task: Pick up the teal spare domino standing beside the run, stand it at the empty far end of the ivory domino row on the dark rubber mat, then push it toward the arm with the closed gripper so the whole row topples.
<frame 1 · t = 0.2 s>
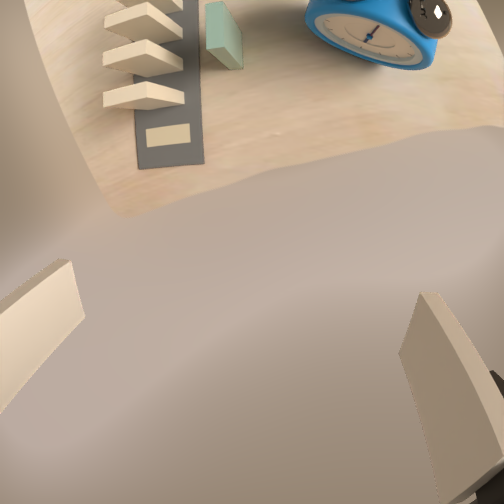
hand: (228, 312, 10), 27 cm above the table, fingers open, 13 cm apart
alarm clock: (360, 37, 27), on the table
domino 2: (164, 37, 29), resting on mat
domino 3: (164, 68, 31), resting on mat
domino 1: (164, 9, 27), resting on mat
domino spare: (235, 51, 29), on the table
mat: (165, 68, 31), on the table
domino 4: (165, 101, 32), resting on mat
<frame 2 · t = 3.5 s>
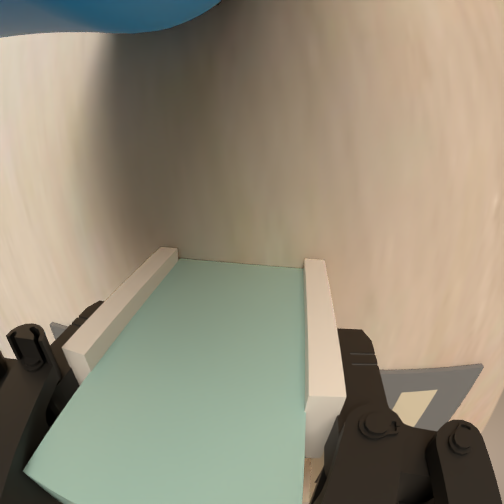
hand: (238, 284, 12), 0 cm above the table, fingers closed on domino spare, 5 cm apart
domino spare: (239, 281, 12), on the table, touching gripper
mat: (255, 416, 16), on the table
domino 4: (332, 424, 15), resting on mat
when the fingers open (1 cm above the table, at t = 8.8 s): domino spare stays where it is, resting on mat.
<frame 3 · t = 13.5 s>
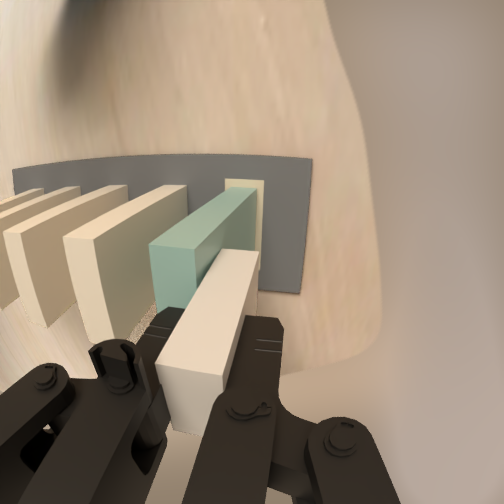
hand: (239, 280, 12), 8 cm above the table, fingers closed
domino 2: (76, 217, 21), resting on mat
domino 3: (121, 218, 20), resting on mat
domino 1: (42, 216, 21), resting on mat
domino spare: (243, 226, 19), resting on mat, touching gripper
mat: (123, 217, 20), on the table
domino 4: (176, 221, 20), resting on mat
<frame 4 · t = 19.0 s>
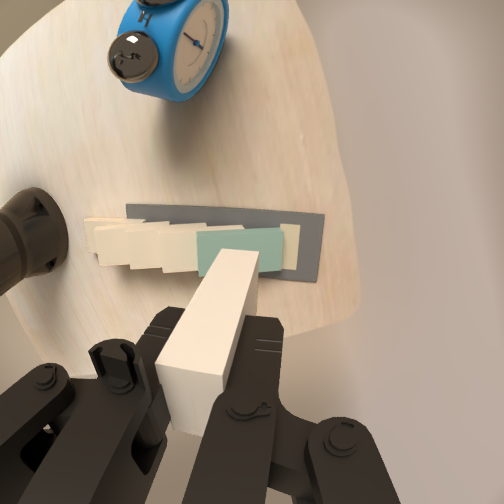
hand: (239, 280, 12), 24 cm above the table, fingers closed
alarm clock: (196, 53, 30), on the table
domino 2: (170, 241, 38), point 1 cm above the table, tilted 69°, touching domino 1, domino 3
domino 3: (206, 243, 38), point 1 cm above the table, tilted 69°, touching domino 2, domino 4, mat
domino 1: (145, 239, 39), point 1 cm above the table, tilted 90°, touching domino 2, mat
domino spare: (280, 249, 37), point 1 cm above the table, tilted 69°, touching domino 4, mat
mat: (217, 241, 38), on the table
domino 4: (243, 246, 37), point 1 cm above the table, tilted 69°, touching domino 3, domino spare, mat
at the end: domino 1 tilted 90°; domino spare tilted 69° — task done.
